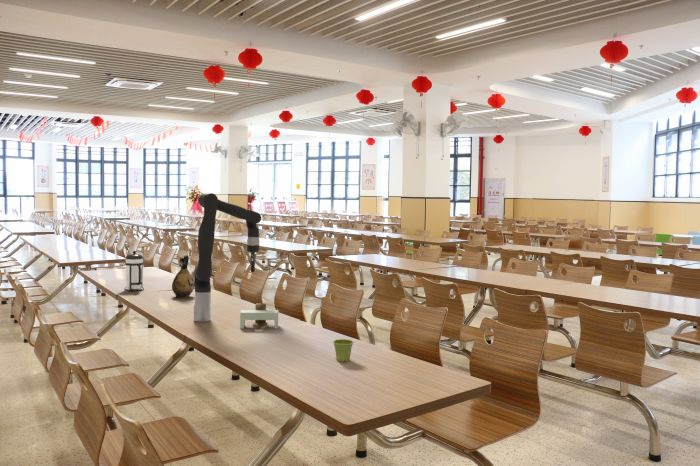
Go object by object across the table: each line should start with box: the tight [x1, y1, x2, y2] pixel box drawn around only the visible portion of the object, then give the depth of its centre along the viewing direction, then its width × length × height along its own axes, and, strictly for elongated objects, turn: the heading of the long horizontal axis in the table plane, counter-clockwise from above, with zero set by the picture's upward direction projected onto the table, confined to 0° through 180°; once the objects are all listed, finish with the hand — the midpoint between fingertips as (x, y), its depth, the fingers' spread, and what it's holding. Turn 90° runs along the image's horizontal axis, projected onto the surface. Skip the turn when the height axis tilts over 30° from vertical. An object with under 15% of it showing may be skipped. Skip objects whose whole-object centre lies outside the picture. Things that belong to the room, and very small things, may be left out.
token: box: [253, 328, 264, 333], centre depth 315 cm, size 5×5×1 cm
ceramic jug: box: [171, 254, 195, 299], centre depth 410 cm, size 17×15×30 cm
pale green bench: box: [239, 309, 279, 330], centre depth 324 cm, size 21×8×9 cm, turn 97°
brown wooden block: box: [252, 302, 268, 331], centre depth 325 cm, size 8×15×12 cm, turn 7°
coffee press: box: [124, 250, 145, 292], centre depth 431 cm, size 17×16×30 cm
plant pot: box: [332, 338, 355, 363], centre depth 264 cm, size 9×9×9 cm
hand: (252, 271), depth 355 cm, fingers closed
